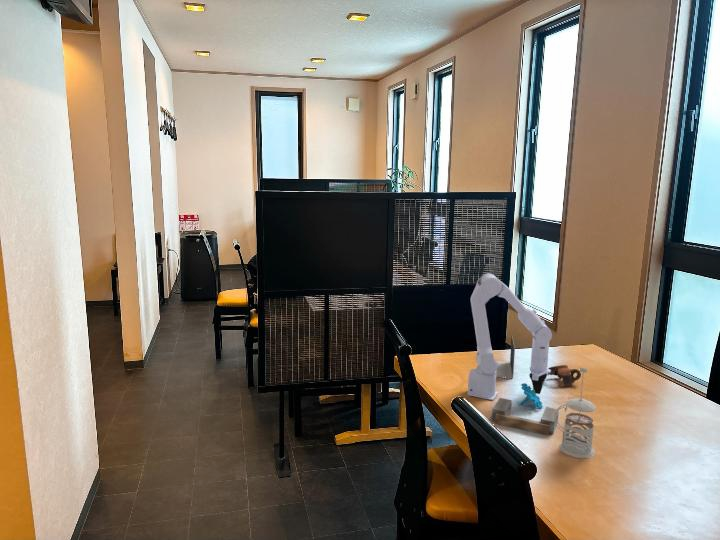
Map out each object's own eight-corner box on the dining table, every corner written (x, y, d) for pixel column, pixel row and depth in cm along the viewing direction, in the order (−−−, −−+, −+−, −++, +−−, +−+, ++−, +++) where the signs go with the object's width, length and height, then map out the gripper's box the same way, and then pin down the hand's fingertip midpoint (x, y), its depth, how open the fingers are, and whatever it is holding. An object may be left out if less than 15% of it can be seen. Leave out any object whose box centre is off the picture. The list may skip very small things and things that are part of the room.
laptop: (480, 361, 226) (482, 332, 224) (510, 364, 223) (512, 334, 221) (480, 376, 209) (482, 345, 206) (513, 379, 206) (515, 347, 204)
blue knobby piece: (542, 409, 174) (522, 385, 177) (528, 419, 176) (508, 394, 179) (546, 401, 184) (527, 378, 187) (533, 411, 186) (514, 388, 189)
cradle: (490, 422, 168) (491, 410, 168) (499, 408, 178) (499, 397, 178) (552, 436, 159) (553, 423, 159) (558, 421, 170) (558, 409, 169)
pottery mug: (551, 388, 198) (546, 366, 201) (550, 390, 206) (545, 369, 209) (584, 383, 195) (579, 361, 197) (582, 386, 203) (577, 365, 206)
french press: (592, 461, 145) (600, 376, 141) (549, 450, 151) (555, 368, 147) (597, 446, 153) (605, 365, 149) (556, 436, 159) (562, 358, 155)
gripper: (548, 365, 178) (545, 402, 180) (554, 352, 191) (551, 388, 193) (527, 361, 181) (524, 398, 184) (534, 349, 194) (532, 384, 196)
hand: (537, 392), depth 189 cm, fingers closed
